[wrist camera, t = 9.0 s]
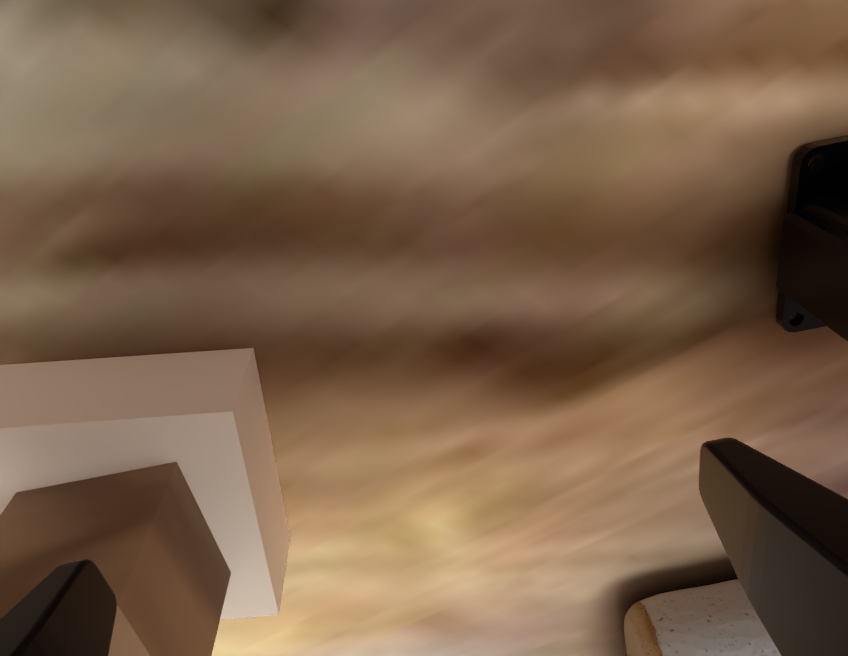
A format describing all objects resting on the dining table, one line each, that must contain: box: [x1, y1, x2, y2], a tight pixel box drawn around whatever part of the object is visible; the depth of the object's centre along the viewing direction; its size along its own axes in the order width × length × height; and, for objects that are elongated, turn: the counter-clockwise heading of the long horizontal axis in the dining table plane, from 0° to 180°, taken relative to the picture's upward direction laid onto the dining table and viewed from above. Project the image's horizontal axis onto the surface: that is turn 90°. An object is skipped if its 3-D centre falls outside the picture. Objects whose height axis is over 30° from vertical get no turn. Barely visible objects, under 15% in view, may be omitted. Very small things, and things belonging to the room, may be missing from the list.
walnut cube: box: [0, 462, 231, 656], centre depth 18 cm, size 5×5×5 cm
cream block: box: [0, 348, 290, 620], centre depth 22 cm, size 9×9×4 cm
